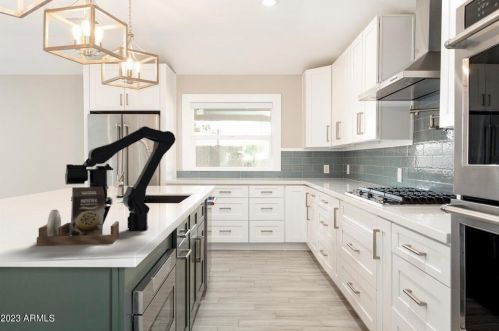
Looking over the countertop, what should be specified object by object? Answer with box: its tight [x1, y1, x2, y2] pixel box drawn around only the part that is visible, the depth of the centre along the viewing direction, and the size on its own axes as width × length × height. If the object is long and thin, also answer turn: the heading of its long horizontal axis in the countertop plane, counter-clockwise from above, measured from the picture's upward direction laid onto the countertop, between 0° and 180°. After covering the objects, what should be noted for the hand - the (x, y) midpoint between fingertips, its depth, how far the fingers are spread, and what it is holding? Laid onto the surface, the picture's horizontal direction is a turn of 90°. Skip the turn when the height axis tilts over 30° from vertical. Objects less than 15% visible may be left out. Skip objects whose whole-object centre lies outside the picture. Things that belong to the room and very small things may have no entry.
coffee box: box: [70, 186, 105, 236], centre depth 115 cm, size 9×6×16 cm
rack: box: [36, 209, 120, 247], centre depth 114 cm, size 22×10×10 cm, turn 101°
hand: (98, 228), depth 126 cm, fingers open, 7 cm apart
